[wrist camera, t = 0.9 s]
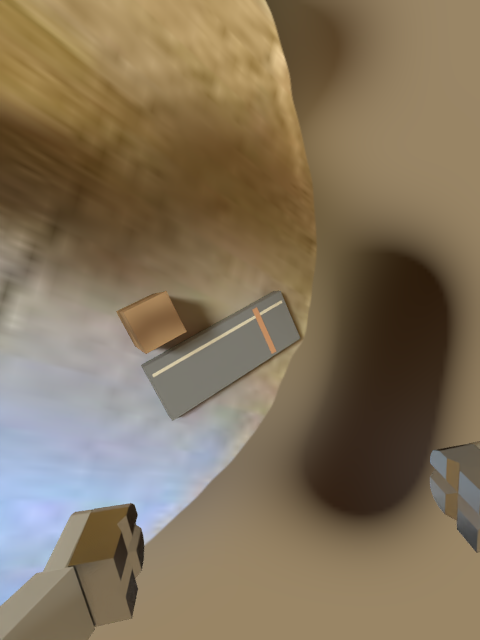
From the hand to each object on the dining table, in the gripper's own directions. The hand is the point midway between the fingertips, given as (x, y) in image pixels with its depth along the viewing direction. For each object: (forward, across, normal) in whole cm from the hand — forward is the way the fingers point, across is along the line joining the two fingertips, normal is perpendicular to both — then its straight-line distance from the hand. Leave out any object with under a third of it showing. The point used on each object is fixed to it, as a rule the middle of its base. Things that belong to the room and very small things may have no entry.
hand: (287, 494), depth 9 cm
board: (+38, +2, +10) cm, 40 cm away
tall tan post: (+36, +11, +3) cm, 38 cm away
